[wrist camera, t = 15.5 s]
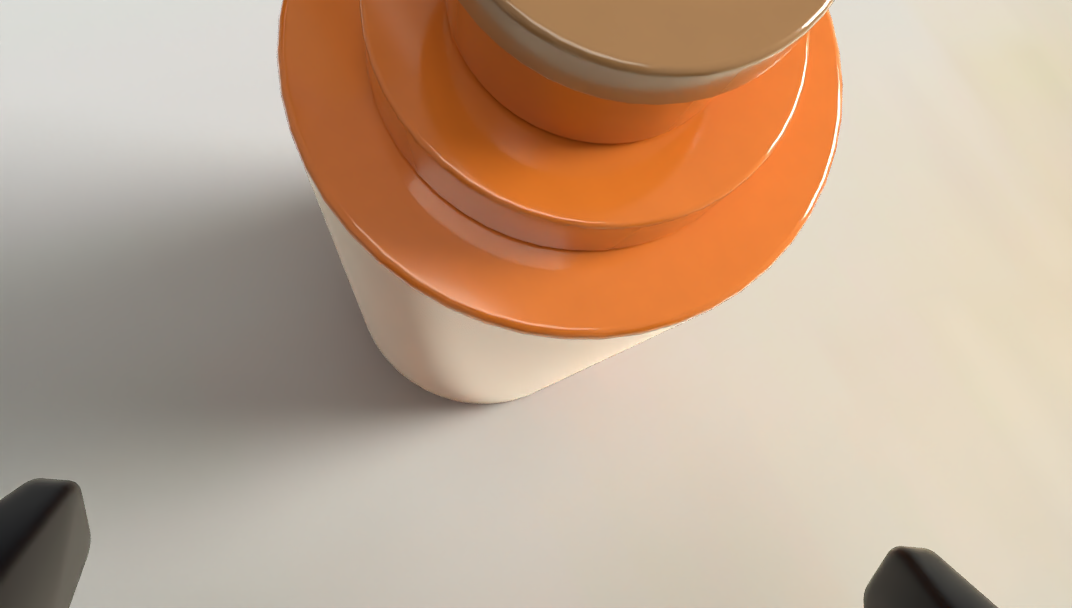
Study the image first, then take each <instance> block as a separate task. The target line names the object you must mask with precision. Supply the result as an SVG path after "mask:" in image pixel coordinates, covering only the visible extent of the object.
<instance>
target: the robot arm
mask: <svg viewBox="0 0 1072 608" xmlns="http://www.w3.org/2000/svg"><path fill="white" fill-rule="evenodd" d="M90 536H91V535H90V529H89V524H88V519H87V515H86V510H85V505H84V501H83V496H82V492H81V489H80V487H79V485H78V484H77V483H76V482H73V481H70V480H57V479H45V478H37V479H33V480H31V481H28V482H26V483H25V484H23V485H21V486H20V487H19V488H17V489H16V490H14V491H13V492H11V493H10V494H9V495H7V496H6V497H4V498H3V499H1V500H0V608H69V606H70V604H71V601H72V598H73V595H74V592H75V590H76V587H77V584H78V581H79V578H80V576H81V573H82V570H83V567H84V565H85V562H86V559H87V556H88V552H89V548H90ZM864 608H998V607H997V606H995V605H994V604H993V603H992V602H991V601H990V600H989V599H987V598H986V597H985V596H984V595H983V594H982V593H980V592H979V591H978V590H977V589H976V588H975V587H974V586H972V585H971V584H970V583H969V582H968V581H967V580H966V579H964V578H963V577H962V576H961V575H960V574H959V573H958V572H956V571H955V570H954V569H953V568H952V567H951V566H950V565H948V564H947V563H946V562H945V561H944V560H943V559H942V558H940V557H939V556H938V555H937V554H935V553H934V552H933V551H931V550H928V549H925V548H916V547H904V546H898V547H895V548H893V549H891V550H890V551H889V552H888V554H887V555H886V557H885V558H884V560H883V562H882V563H881V565H880V566H879V568H878V569H877V571H876V573H875V574H874V576H873V577H872V579H871V580H870V582H869V583H868V585H867V587H866V589H865V593H864Z"/></svg>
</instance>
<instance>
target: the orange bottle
mask: <svg viewBox="0 0 1072 608" xmlns="http://www.w3.org/2000/svg"><path fill="white" fill-rule="evenodd" d="M833 2H834V0H282V5H281V10H280V15H279V20H278V42H277V63H278V73H279V83H280V93H281V98H282V102H283V106H284V110H285V114H286V118H287V122H288V126H289V130H290V133H291V135H292V138H293V140H294V143H295V145H296V148H297V150H298V153H299V156H300V158H301V161H302V163H303V166H304V168H305V171H306V173H307V176H308V178H309V181H310V183H311V186H312V189H313V191H314V194H315V196H316V199H317V201H318V204H319V206H320V209H321V211H322V214H323V216H324V219H325V222H326V224H327V227H328V229H329V232H330V234H331V237H332V239H333V242H334V244H335V247H336V249H337V252H338V255H339V257H340V260H341V262H342V265H343V267H344V270H345V272H346V275H347V277H348V280H349V282H350V285H351V288H352V290H353V293H354V295H355V298H356V300H357V303H358V305H359V308H360V310H361V313H362V315H363V318H364V320H365V323H366V325H367V328H368V330H369V333H370V335H371V336H372V338H373V340H374V342H375V343H376V345H377V347H378V348H379V350H380V351H381V352H382V354H383V355H384V356H385V357H386V359H387V360H388V361H389V362H390V363H391V364H392V365H393V366H394V367H395V368H396V369H397V370H398V371H399V372H400V373H401V374H402V375H404V376H405V377H406V378H408V379H409V380H410V381H412V382H413V383H414V384H416V385H418V386H420V387H422V388H423V389H425V390H427V391H429V392H431V393H434V394H436V395H439V396H441V397H444V398H447V399H451V400H455V401H459V402H466V403H475V404H493V403H500V402H507V401H512V400H515V399H519V398H522V397H526V396H528V395H530V394H533V393H535V392H537V391H539V390H542V389H544V388H546V387H548V386H550V385H552V384H554V383H557V382H559V381H561V380H563V379H565V378H567V377H569V376H571V375H574V374H576V373H578V372H580V371H582V370H584V369H586V368H588V367H591V366H593V365H595V364H597V363H599V362H601V361H603V360H606V359H608V358H610V357H612V356H614V355H616V354H618V353H620V352H623V351H625V350H627V349H629V348H631V347H633V346H635V345H637V344H640V343H642V342H644V341H646V340H648V339H650V338H652V337H655V336H657V335H659V334H661V333H663V332H665V331H667V330H669V329H672V328H674V327H676V326H678V325H680V324H682V323H684V322H686V321H689V320H691V319H693V318H695V317H697V316H699V315H701V314H703V313H706V312H708V311H710V310H712V309H713V308H715V307H717V306H718V305H720V304H722V303H723V302H725V301H726V300H728V299H730V298H731V297H733V296H735V295H736V294H738V293H740V292H741V291H742V290H744V289H745V288H746V287H747V286H749V285H750V284H751V283H752V282H753V281H755V280H756V279H757V278H758V277H759V276H761V275H762V274H763V273H764V272H765V271H767V270H768V269H769V268H770V267H771V266H772V265H773V263H774V262H775V261H776V260H777V259H778V258H779V257H780V256H781V255H782V254H783V252H784V251H785V250H786V249H787V248H788V247H789V246H790V245H791V244H792V242H793V241H794V239H795V238H796V236H797V235H798V233H799V232H800V230H801V229H802V227H803V226H804V224H805V223H806V221H807V220H808V218H809V217H810V215H811V213H812V211H813V209H814V207H815V205H816V203H817V201H818V199H819V197H820V194H821V192H822V190H823V188H824V186H825V183H826V180H827V177H828V174H829V171H830V168H831V165H832V161H833V158H834V155H835V152H836V147H837V141H838V135H839V129H840V123H841V116H842V87H843V84H842V74H841V64H840V53H839V48H838V44H837V39H836V35H835V31H834V26H833V22H832V18H831V15H830V13H829V10H828V9H829V7H830V6H831V5H832V3H833Z"/></svg>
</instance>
